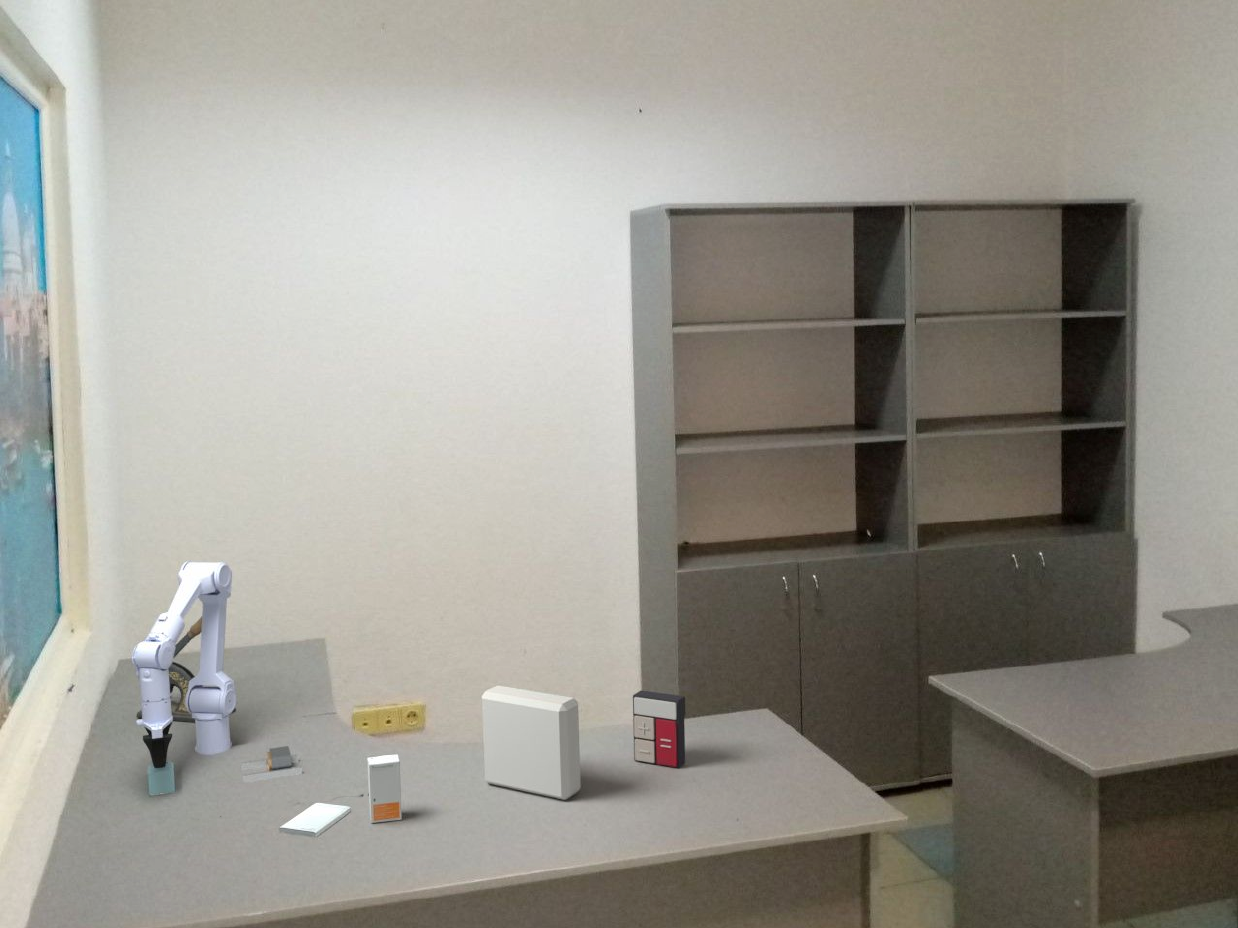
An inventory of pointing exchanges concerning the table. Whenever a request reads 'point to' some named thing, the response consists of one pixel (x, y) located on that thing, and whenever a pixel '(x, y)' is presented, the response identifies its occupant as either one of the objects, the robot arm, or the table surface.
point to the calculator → (659, 728)
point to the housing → (161, 779)
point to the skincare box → (384, 788)
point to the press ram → (279, 758)
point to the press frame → (268, 774)
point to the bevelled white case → (531, 741)
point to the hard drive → (315, 819)
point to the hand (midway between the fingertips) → (160, 760)
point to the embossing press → (182, 678)
